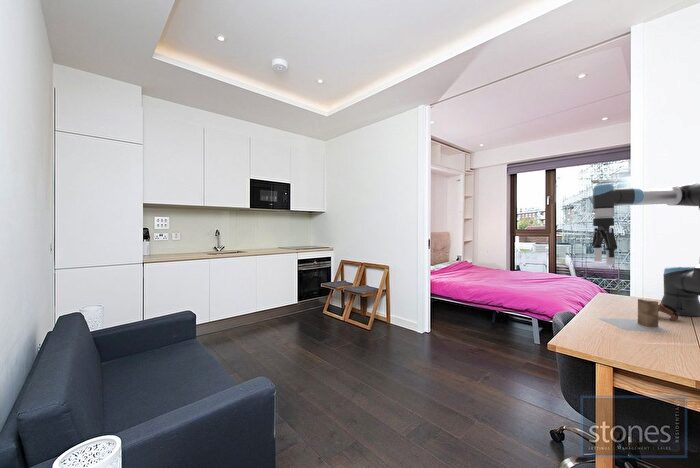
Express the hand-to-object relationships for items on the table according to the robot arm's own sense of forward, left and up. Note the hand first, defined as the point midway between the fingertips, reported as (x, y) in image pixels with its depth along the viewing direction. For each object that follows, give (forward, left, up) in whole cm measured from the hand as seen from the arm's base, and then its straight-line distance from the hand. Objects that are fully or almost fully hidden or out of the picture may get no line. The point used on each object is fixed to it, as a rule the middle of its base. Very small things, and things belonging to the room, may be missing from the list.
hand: (603, 262), depth 139 cm
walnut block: (-11, +9, -26) cm, 30 cm away
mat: (-6, +8, -27) cm, 29 cm away
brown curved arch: (-26, -3, -27) cm, 38 cm away
